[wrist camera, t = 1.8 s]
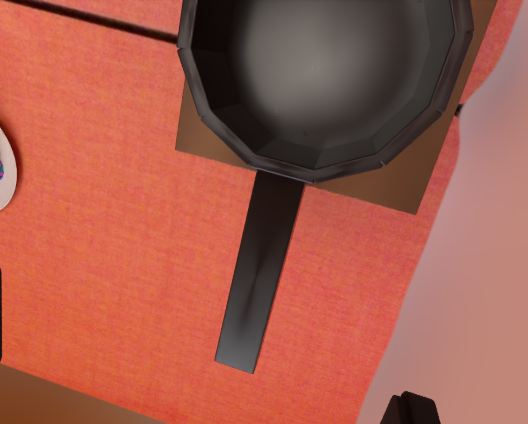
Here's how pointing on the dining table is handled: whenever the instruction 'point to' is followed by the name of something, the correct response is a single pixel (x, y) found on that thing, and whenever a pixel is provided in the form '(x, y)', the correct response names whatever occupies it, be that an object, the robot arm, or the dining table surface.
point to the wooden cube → (372, 182)
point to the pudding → (6, 171)
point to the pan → (311, 111)
